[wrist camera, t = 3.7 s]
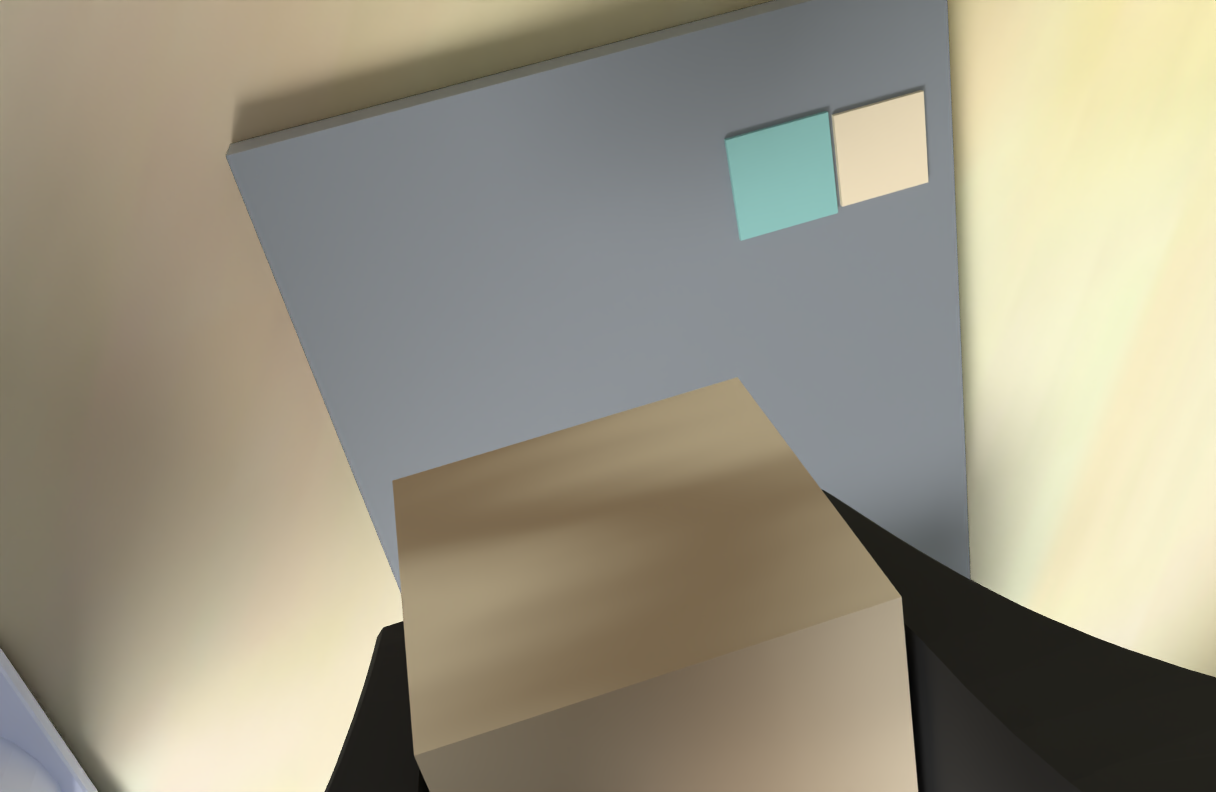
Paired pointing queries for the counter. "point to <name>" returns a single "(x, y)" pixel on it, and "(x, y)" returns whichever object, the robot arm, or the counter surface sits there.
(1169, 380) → the counter surface
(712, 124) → the board
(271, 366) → the counter surface
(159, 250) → the counter surface
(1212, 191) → the counter surface
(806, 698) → the maple block
